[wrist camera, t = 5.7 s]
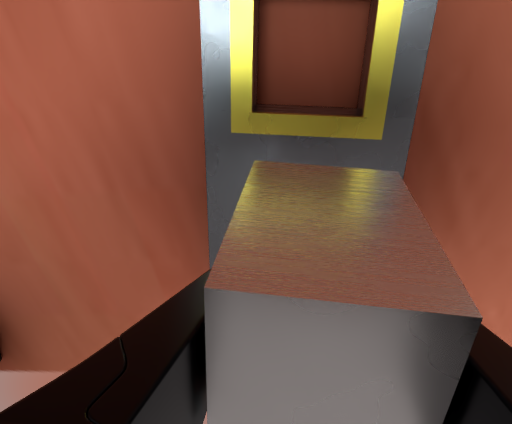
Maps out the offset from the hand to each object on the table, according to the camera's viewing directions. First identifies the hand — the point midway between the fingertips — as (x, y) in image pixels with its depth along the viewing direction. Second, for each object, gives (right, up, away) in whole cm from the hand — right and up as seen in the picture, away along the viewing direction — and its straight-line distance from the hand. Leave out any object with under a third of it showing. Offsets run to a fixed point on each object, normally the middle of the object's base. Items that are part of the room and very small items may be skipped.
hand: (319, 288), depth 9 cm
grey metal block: (0, +1, +3) cm, 3 cm away
